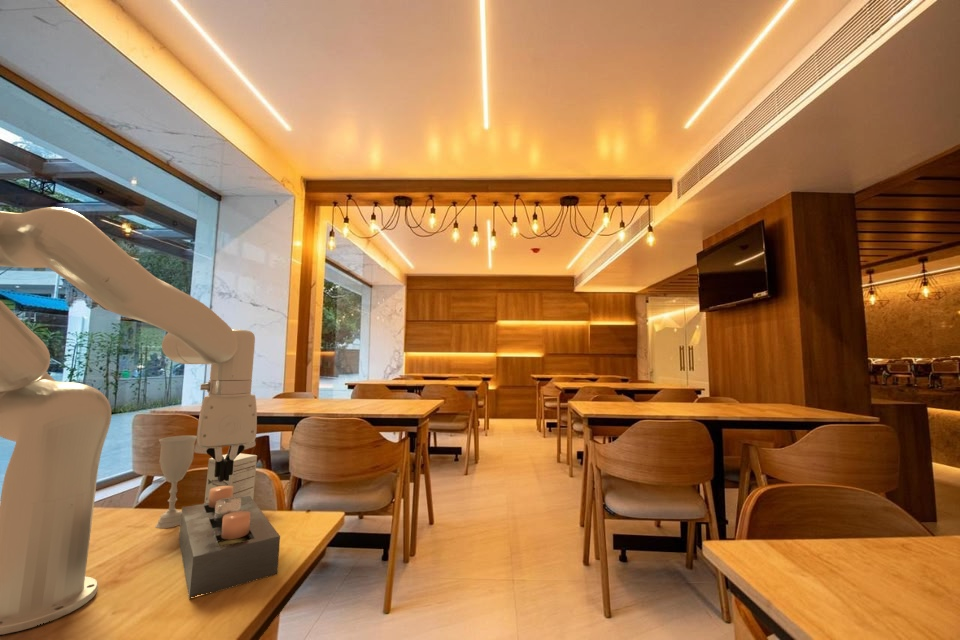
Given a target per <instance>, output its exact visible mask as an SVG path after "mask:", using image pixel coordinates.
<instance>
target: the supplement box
mask: <svg viewBox="0 0 960 640" xmlns="http://www.w3.org/2000/svg"><path fill="white" fill-rule="evenodd" d="M227 454H228V453H226V454H222V456H223V457H224V459H225V458H226V455H227ZM257 460H258V455H256V454H248V453H242V452H241V453H240V454H239V455H238V456H237V457H236V458H235V459H234V463H233V474H232V475H229V481H222V482H219V480H218V477H215V476H214V474H215V462H216V460H215V459H213V458H212V457H211V458H208V465H207V473H206V475H207V476H206V484H205V485H206V486H205V492H204V494H205V495H204V503H209V495H210V489H212V488H215V487H219V486H233V497H238V498H240V497H246V496H251V498H252V499H253V500H254V496H255V495H254V494H255V485H256V474H257ZM204 503H203V504H204Z"/></svg>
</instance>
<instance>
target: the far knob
mask: <svg viewBox="0 0 960 640" xmlns="http://www.w3.org/2000/svg"><path fill="white" fill-rule="evenodd" d="M230 497H233V486H219V487H215V488H212V489H210V495H209V505H208V506H209V507H212V508H215V505H216V501H218V500H220V499H224V498H230Z"/></svg>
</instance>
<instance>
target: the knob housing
mask: <svg viewBox="0 0 960 640" xmlns="http://www.w3.org/2000/svg"><path fill="white" fill-rule="evenodd" d="M240 498H241V507H240V511H248V512H250V513H251V514H250V527H249V533H248V534H247V535H246V536H247V537H248V538H249V539H246V540H243V541H238V542H233V543H230V544H225V545H220V544H219V542H221V541H227V540H228V539H223V538H221V533H222V522H216V521H214V517H215V508H212V507H209V506H208V505H209V503H199V504H193V505H187V506H182V507H181V511H180V512H181V522H180V525H179V532H178V533H179V534H178V542H179V546H180V555H181V559H182V564H183V570H184V577H185V582H186V587H187V594H189V595H188V599H189V598H191V597H195V596H197V595H201V594H206V593H210V592H213V593H216V591H217V592H220V591H224V590H227V589H230V588H229V587H231V588H233V587H232V586H234V587H236V585H237V586H240V584H241V585H244V584H247V582H248V583H250V582H249V581H251V582H254V581H253V580H255V581H257V580H256V579H258V580H261V579H260V578H262V579H264V578H263V577H265V578H268V577H272V576H275V575H278V569H279V558H280V556H279V555H280V542H281V535H280V534H279V533H278V531H277V530H276V528H275V527H274V526H273V524H271V522H270V521H269V519H268V517H266V515H265V514H264V513H263V512H262V509H261V508H260V507H259V506H258V504H257V503H256V502H255V501H254V498H253V499H252V498H251V496H246V497H240ZM271 575H272V576H271ZM267 576H268V577H267ZM226 588H227V589H226ZM223 589H224V590H223ZM210 594H211V593H210Z"/></svg>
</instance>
